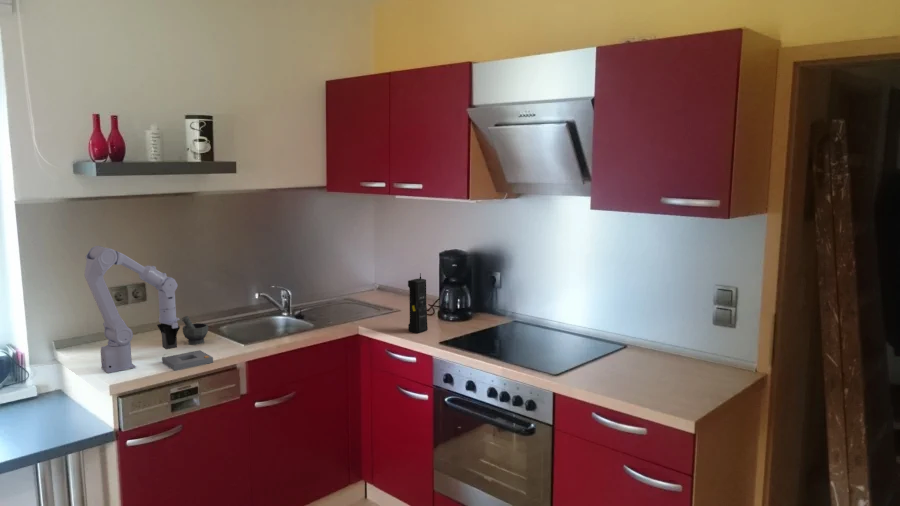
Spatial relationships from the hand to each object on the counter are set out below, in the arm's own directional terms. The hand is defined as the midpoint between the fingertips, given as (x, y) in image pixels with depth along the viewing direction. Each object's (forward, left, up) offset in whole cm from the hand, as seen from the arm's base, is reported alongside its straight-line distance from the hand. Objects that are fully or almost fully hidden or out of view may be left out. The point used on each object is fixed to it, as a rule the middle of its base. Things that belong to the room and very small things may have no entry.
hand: (169, 343), depth 248 cm
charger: (0, 0, -2) cm, 2 cm away
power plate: (+2, -12, -5) cm, 13 cm away
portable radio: (+93, -34, -5) cm, 99 cm away
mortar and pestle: (+14, +12, -5) cm, 19 cm away
